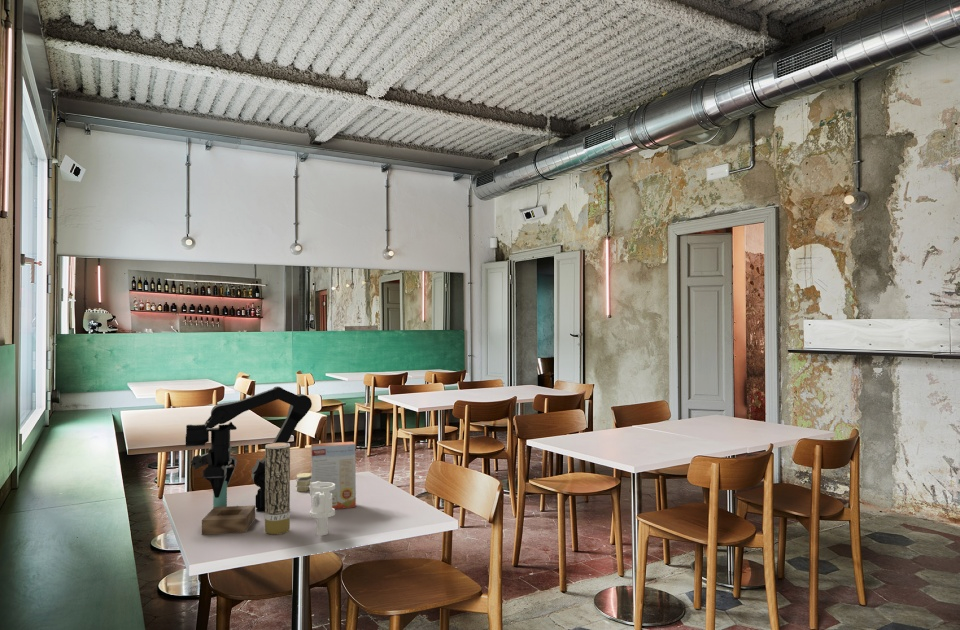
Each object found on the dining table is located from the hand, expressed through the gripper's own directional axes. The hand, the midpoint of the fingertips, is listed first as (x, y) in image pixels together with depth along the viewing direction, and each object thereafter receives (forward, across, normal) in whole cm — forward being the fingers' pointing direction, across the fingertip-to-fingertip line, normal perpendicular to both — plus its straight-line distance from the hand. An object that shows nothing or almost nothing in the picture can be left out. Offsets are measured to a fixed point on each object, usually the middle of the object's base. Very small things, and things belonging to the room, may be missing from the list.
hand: (220, 493), depth 205 cm
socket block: (+6, +14, +6) cm, 16 cm away
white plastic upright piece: (+7, +26, +34) cm, 43 cm away
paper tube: (+7, +22, +21) cm, 31 cm away
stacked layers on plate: (+7, -29, +23) cm, 37 cm away
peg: (+6, 0, 0) cm, 6 cm away
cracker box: (+7, -2, +35) cm, 35 cm away
